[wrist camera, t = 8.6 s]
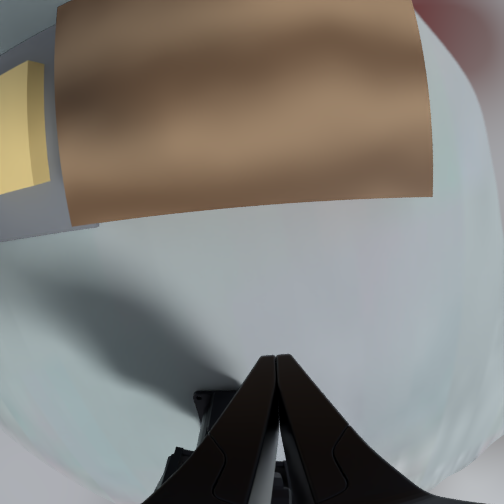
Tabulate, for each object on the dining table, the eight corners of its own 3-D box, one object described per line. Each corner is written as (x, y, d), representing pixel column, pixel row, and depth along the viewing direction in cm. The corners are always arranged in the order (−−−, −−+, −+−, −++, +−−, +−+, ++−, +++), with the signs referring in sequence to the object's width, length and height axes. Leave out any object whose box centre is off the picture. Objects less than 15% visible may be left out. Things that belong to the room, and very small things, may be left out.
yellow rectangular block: (-15, 198, 17) (1, 193, 19) (33, 185, 16) (50, 181, 18) (-22, 88, 14) (-6, 89, 16) (27, 60, 13) (44, 64, 15)
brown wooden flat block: (402, 185, 18) (432, 196, 14) (102, 210, 19) (71, 226, 16) (379, -11, 14) (400, -35, 10) (87, 23, 15) (57, 7, 11)
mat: (99, 225, 20) (96, 227, 19) (-9, 242, 21) (-12, 244, 20) (82, 14, 14) (79, 13, 14) (-26, 76, 15) (-29, 75, 15)
